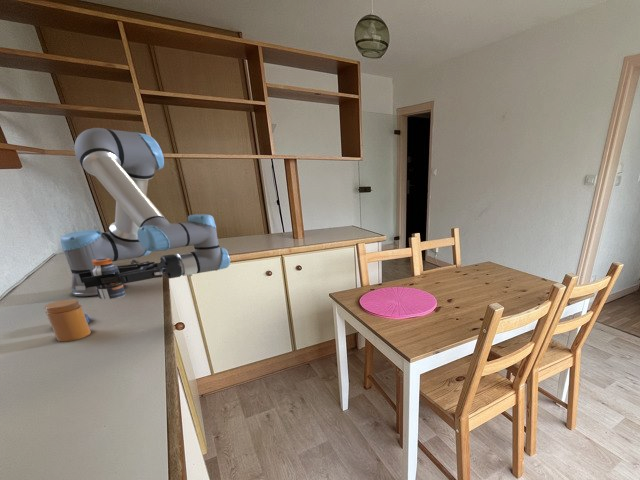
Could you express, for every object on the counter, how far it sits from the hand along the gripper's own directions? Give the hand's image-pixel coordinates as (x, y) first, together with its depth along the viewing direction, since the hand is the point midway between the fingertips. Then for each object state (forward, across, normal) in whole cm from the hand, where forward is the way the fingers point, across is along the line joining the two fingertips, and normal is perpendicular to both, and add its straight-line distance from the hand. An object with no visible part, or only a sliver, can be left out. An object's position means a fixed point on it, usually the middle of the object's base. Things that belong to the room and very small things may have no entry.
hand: (82, 280), depth 86 cm
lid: (+5, +14, -15) cm, 21 cm away
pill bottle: (-5, 0, -6) cm, 8 cm away
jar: (+5, +3, -16) cm, 18 cm away
